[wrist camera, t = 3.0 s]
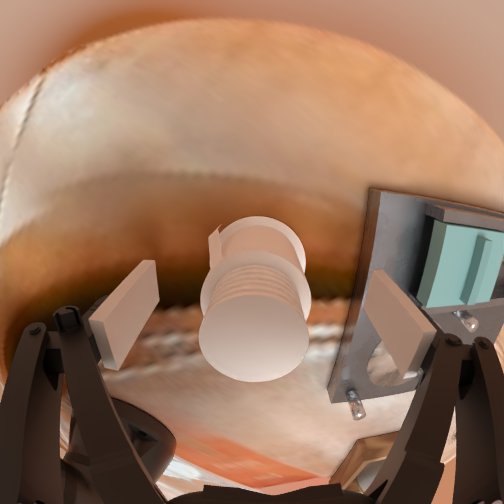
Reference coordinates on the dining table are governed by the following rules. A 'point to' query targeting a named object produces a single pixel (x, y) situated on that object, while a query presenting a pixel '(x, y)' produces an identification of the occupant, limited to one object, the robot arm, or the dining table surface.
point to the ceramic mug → (368, 475)
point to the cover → (461, 265)
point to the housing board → (408, 280)
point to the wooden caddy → (362, 459)
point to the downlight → (255, 301)
